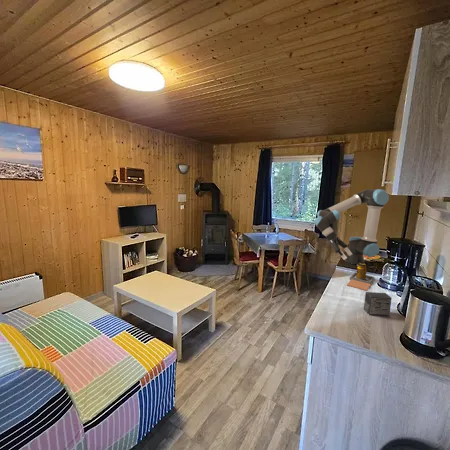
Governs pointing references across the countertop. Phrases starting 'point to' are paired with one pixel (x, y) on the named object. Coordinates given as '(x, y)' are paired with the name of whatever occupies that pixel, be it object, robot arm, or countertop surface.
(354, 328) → the countertop surface
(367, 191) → the robot arm
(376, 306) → the small box
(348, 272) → the countertop surface
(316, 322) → the countertop surface
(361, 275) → the condiment
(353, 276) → the holder
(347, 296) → the countertop surface
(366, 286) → the tile
